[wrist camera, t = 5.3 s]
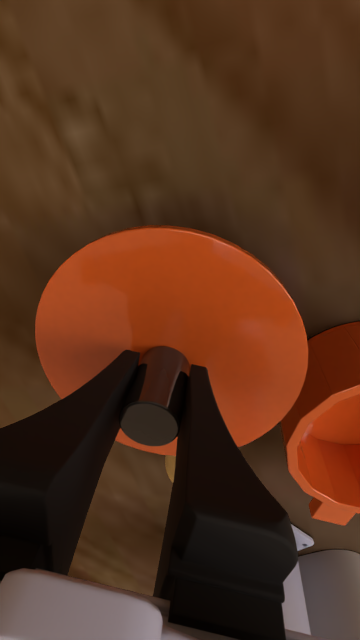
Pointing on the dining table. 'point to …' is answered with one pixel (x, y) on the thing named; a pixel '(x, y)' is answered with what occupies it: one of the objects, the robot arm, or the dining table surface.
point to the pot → (328, 426)
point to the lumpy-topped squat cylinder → (332, 593)
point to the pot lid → (174, 330)
